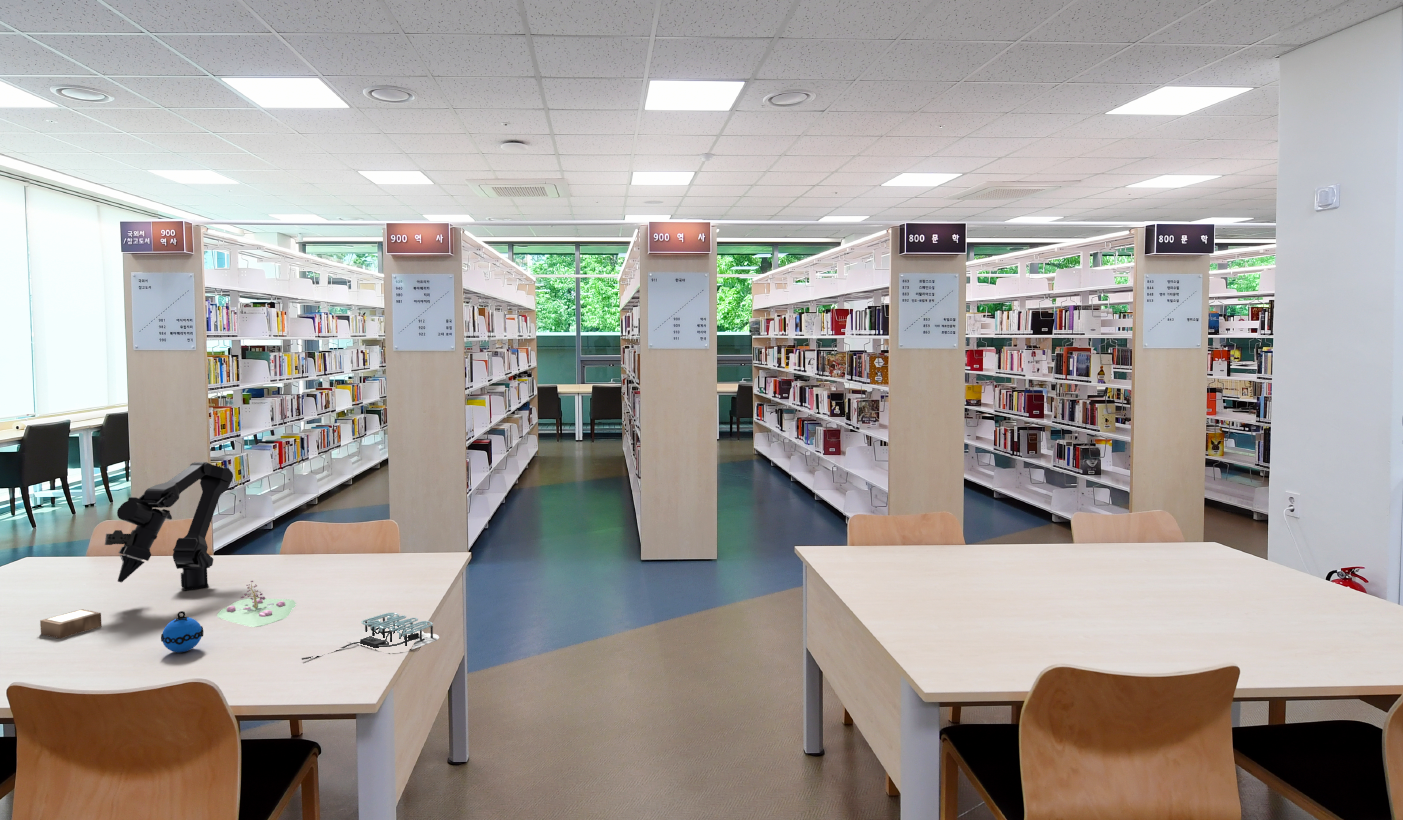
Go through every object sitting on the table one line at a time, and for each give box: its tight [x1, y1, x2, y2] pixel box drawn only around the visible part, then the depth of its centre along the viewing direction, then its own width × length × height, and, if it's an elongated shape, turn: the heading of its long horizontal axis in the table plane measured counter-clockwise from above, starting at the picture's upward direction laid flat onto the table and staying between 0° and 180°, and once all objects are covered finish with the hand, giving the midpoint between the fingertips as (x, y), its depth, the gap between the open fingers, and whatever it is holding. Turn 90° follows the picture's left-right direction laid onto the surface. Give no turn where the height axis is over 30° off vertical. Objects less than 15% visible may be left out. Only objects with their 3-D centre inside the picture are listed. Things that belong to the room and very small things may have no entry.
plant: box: [216, 580, 297, 628], centre depth 228 cm, size 25×21×9 cm
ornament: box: [160, 610, 204, 654], centre depth 198 cm, size 9×9×10 cm
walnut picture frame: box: [39, 609, 102, 639], centre depth 213 cm, size 4×8×10 cm
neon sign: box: [300, 612, 440, 660], centre depth 201 cm, size 21×4×29 cm
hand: (119, 582), depth 228 cm, fingers closed
